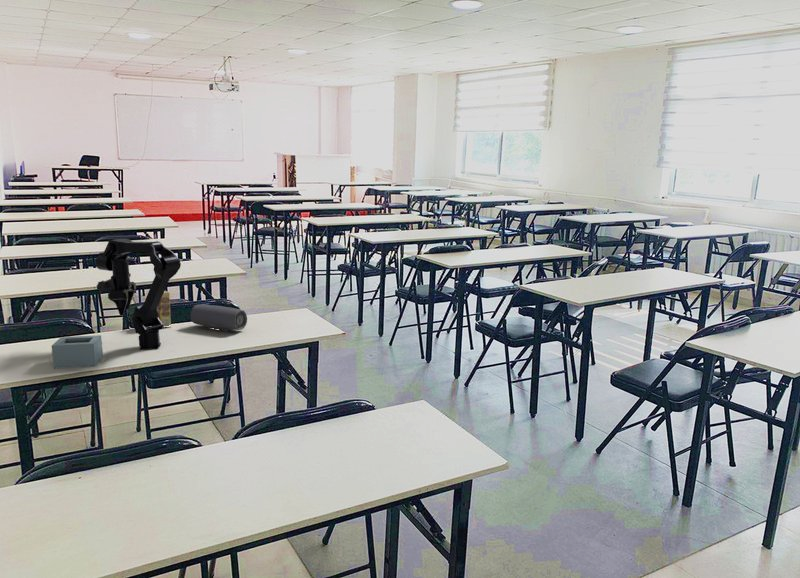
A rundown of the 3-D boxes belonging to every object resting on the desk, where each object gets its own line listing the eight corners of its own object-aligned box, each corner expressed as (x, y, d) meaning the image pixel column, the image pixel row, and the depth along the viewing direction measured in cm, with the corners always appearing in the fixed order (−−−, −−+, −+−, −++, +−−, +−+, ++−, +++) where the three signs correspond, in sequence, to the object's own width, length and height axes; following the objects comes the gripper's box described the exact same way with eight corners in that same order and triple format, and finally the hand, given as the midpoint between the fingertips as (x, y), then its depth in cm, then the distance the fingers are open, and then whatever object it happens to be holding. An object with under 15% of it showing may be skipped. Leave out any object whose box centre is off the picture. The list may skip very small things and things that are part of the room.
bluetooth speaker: (248, 329, 253) (247, 306, 250) (234, 335, 244) (233, 311, 242) (205, 323, 261) (203, 301, 259) (190, 329, 253) (188, 305, 250)
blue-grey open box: (103, 356, 216) (101, 335, 214) (95, 365, 207) (93, 343, 205) (63, 358, 213) (61, 337, 212) (54, 368, 204) (51, 345, 202)
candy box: (172, 327, 254) (169, 292, 251) (161, 328, 252) (159, 293, 248) (165, 322, 261) (162, 288, 258) (154, 324, 258) (152, 289, 255)
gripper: (104, 268, 235) (107, 307, 238) (90, 277, 217) (95, 319, 220) (134, 267, 237) (137, 306, 240) (124, 276, 219) (127, 318, 222)
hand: (124, 312), depth 231 cm, fingers open, 9 cm apart
